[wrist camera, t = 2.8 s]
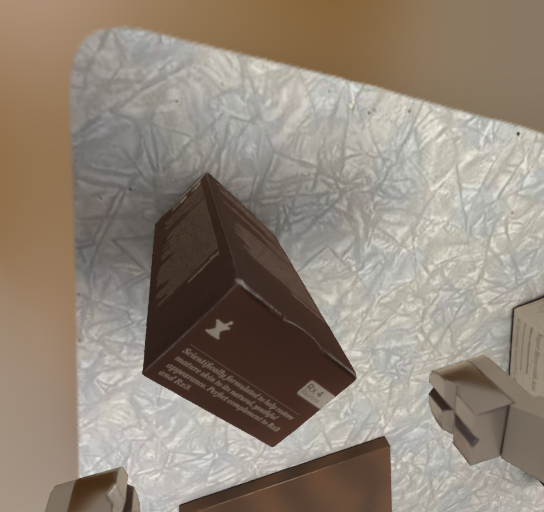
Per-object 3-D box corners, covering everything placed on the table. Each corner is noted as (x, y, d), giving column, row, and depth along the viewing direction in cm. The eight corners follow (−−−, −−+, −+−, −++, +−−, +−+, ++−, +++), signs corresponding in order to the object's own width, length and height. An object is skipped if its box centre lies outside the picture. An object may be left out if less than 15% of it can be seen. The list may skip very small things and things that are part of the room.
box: (149, 228, 21) (133, 377, 11) (206, 169, 21) (247, 267, 10) (227, 289, 24) (274, 456, 14) (279, 239, 24) (370, 373, 13)
